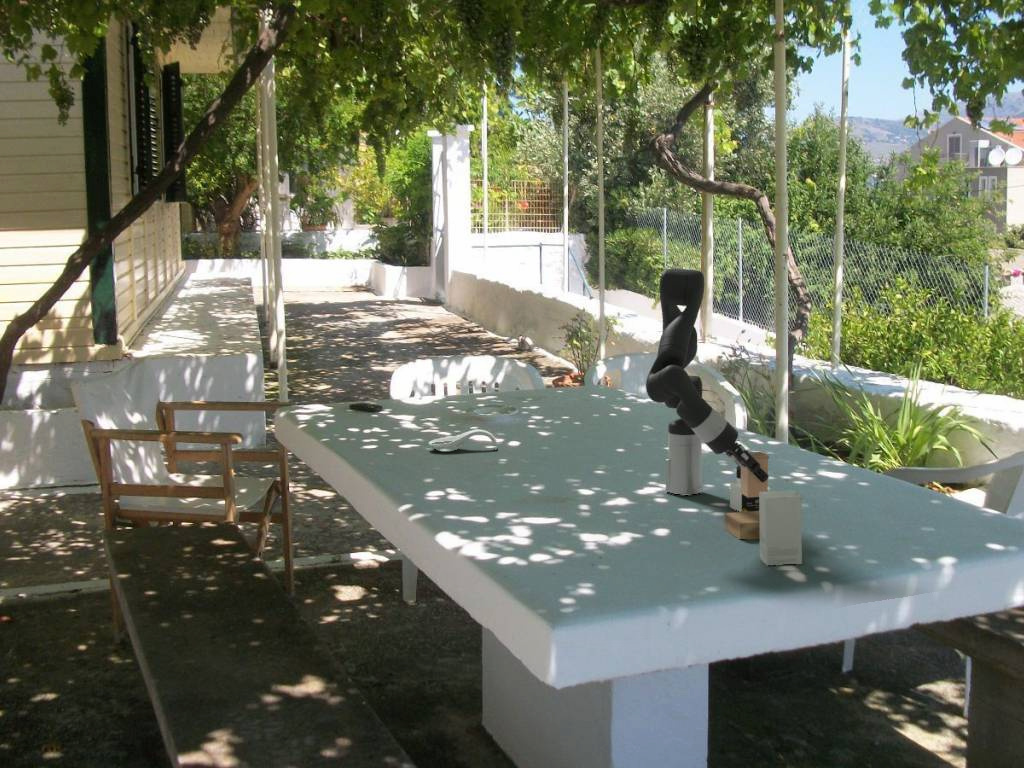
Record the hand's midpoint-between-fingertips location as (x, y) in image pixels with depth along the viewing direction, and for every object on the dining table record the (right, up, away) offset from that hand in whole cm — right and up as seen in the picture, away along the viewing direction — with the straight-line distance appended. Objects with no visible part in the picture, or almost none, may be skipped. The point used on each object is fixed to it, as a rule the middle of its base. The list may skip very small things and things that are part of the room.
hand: (761, 477), depth 289 cm
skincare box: (-1, -17, -24) cm, 30 cm away
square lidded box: (-2, -4, 0) cm, 5 cm away
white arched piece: (-77, -1, +123) cm, 145 cm away
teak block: (-2, -14, +1) cm, 14 cm away
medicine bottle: (+2, -11, +26) cm, 28 cm away
